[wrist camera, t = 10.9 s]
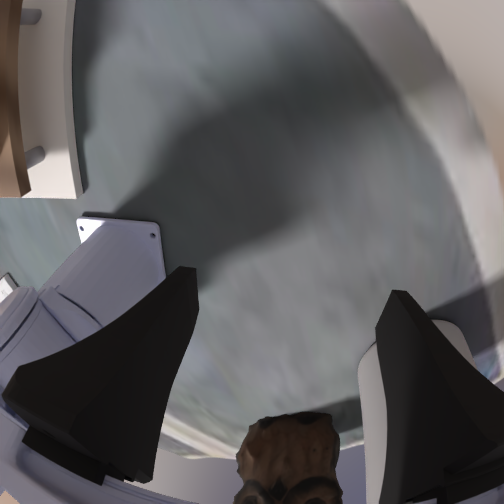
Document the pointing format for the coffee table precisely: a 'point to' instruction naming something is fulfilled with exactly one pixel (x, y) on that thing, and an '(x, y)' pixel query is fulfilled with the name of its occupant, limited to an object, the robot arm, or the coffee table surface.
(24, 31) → the peg base
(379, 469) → the cylinder vase
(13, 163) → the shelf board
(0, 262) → the coffee table surface
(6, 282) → the external hard drive
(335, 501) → the owl
